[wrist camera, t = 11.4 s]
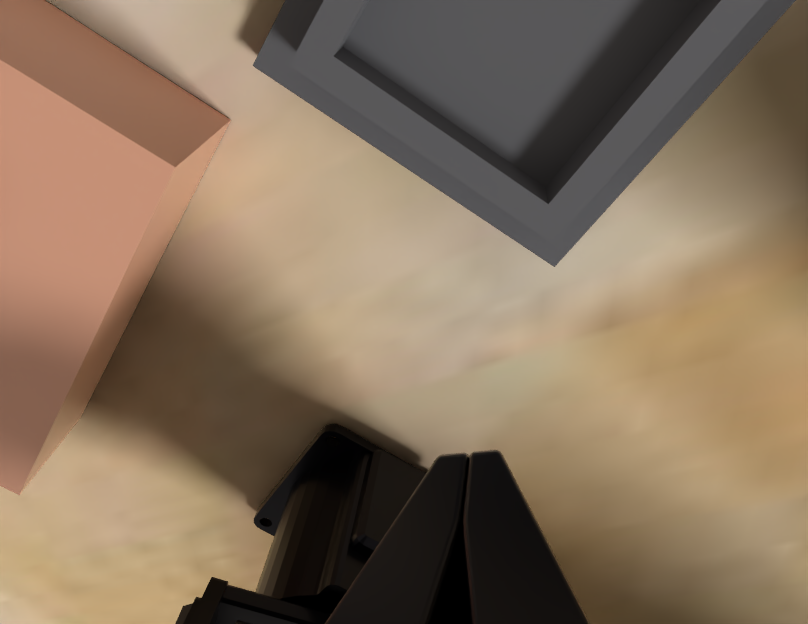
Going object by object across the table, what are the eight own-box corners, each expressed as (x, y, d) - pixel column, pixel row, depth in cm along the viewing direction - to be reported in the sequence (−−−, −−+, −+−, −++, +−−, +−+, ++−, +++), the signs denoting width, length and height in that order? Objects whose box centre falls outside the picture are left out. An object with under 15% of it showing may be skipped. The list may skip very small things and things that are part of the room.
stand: (552, 254, 21) (557, 287, 19) (261, 59, 18) (238, 75, 17) (834, -62, 16) (875, -57, 14) (480, -375, 14) (479, -414, 12)
